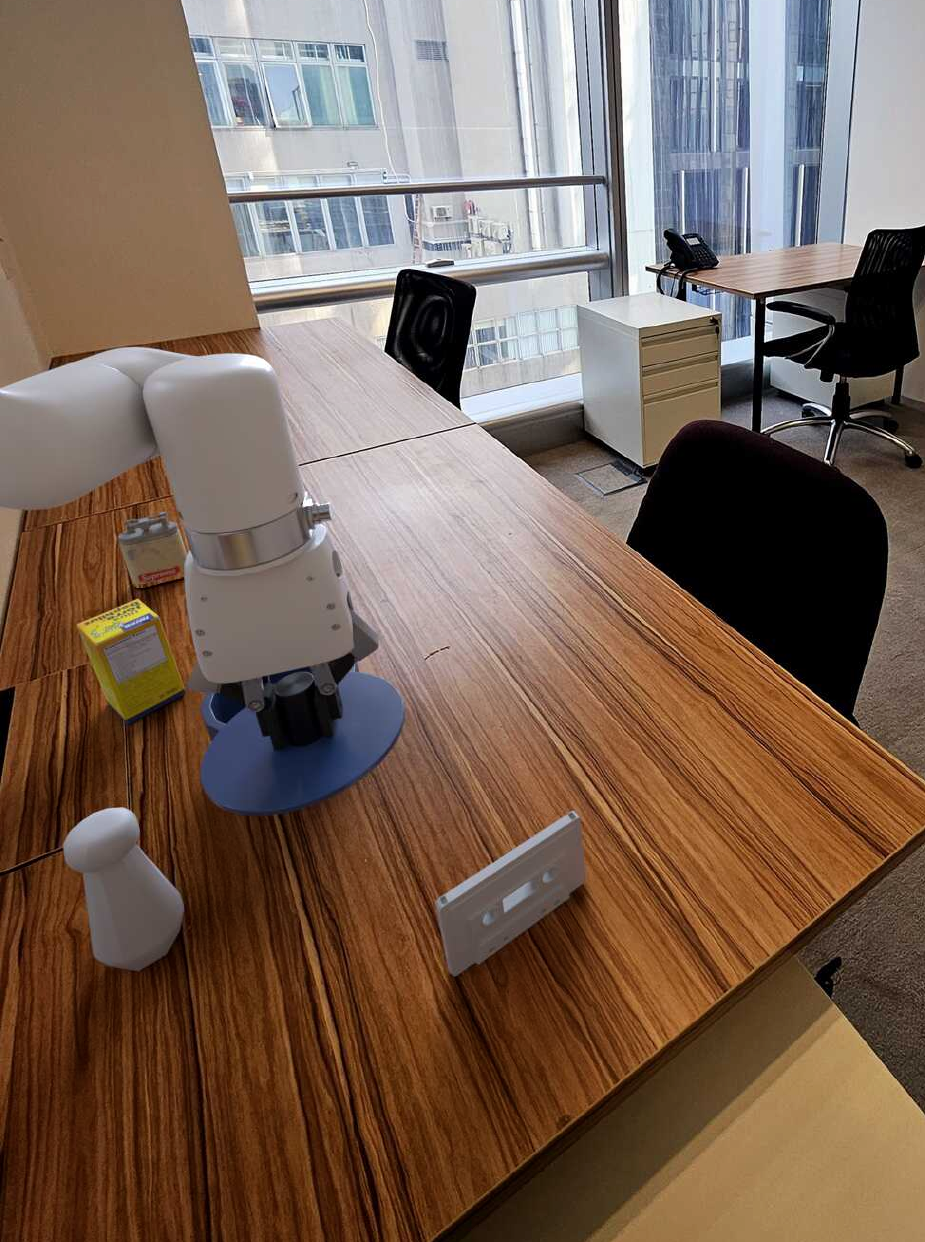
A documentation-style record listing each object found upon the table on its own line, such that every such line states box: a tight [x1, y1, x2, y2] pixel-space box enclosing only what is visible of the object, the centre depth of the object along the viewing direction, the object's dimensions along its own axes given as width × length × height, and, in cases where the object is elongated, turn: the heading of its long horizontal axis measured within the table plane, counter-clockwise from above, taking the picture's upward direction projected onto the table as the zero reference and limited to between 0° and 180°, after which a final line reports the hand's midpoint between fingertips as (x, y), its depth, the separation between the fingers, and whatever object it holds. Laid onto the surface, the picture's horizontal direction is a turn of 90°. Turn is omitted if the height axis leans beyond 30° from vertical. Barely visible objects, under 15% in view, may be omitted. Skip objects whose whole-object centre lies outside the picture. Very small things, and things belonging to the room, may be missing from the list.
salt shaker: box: [62, 806, 185, 972], centre depth 56 cm, size 6×6×13 cm
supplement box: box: [76, 598, 187, 726], centre depth 81 cm, size 6×6×11 cm
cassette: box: [434, 810, 587, 977], centre depth 58 cm, size 12×2×8 cm, turn 131°
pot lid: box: [200, 671, 406, 817], centre depth 58 cm, size 15×15×6 cm
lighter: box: [117, 511, 188, 584], centre depth 104 cm, size 7×4×10 cm, turn 122°
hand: (306, 729), depth 59 cm, fingers closed on pot lid, 2 cm apart
